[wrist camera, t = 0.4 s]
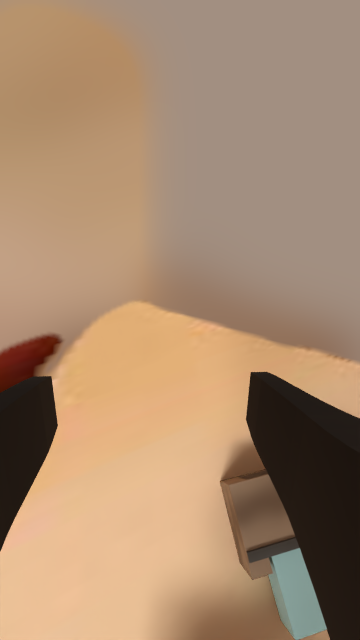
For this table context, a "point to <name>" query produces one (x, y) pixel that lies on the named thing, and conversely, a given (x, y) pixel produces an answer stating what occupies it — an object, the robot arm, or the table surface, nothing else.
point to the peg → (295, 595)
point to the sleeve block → (257, 521)
